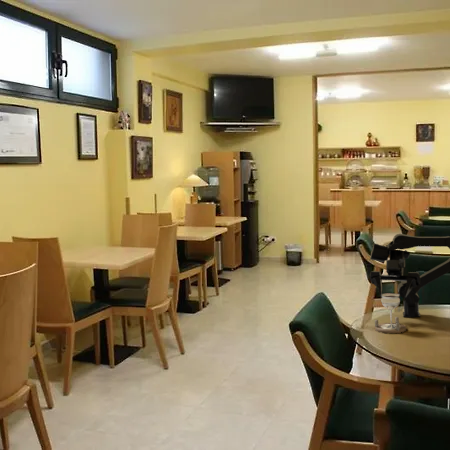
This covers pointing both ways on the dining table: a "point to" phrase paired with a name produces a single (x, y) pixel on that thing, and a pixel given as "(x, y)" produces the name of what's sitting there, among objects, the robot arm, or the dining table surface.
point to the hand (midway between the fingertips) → (392, 296)
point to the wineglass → (390, 304)
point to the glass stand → (383, 329)
